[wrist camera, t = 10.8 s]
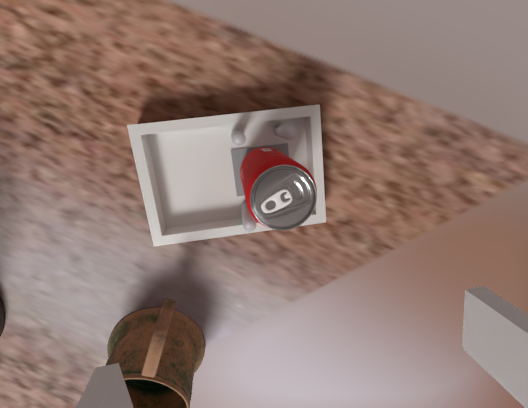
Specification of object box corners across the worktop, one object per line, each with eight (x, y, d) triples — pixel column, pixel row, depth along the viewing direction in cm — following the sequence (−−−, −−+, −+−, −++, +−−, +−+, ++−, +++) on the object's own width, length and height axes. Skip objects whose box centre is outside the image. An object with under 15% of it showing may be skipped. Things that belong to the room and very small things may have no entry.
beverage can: (296, 179, 34) (332, 211, 22) (254, 202, 34) (268, 246, 22) (274, 136, 32) (300, 147, 21) (230, 161, 32) (232, 184, 21)
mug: (229, 275, 37) (230, 345, 26) (191, 392, 41) (177, 498, 29) (130, 251, 35) (83, 317, 23) (100, 377, 39) (47, 486, 27)
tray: (160, 234, 35) (144, 262, 28) (137, 124, 31) (113, 126, 25) (317, 212, 36) (337, 234, 29) (310, 105, 33) (332, 102, 26)
